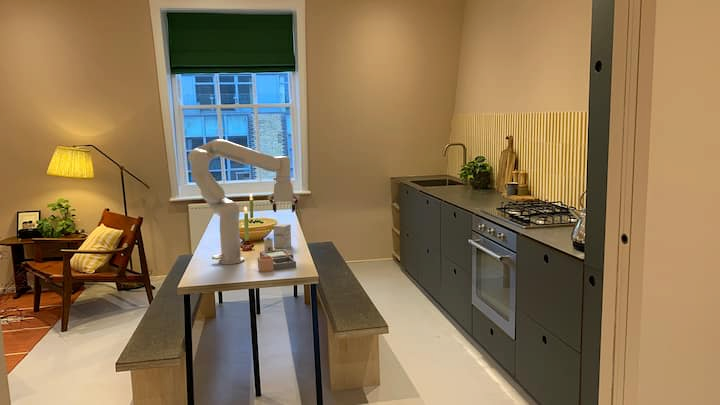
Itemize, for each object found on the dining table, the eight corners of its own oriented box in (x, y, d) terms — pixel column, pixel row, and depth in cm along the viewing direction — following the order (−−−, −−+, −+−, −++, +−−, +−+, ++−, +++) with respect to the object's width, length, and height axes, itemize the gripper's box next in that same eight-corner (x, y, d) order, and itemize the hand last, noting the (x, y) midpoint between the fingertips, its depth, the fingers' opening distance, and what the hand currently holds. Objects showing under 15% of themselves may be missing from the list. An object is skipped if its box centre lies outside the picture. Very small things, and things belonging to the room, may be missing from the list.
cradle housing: (266, 263, 270) (266, 257, 269) (260, 257, 283) (259, 251, 282) (293, 260, 275) (293, 254, 275) (285, 254, 288) (285, 248, 288)
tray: (274, 270, 258) (274, 264, 258) (269, 264, 268) (269, 259, 267) (296, 267, 262) (295, 261, 262) (289, 262, 272) (289, 256, 271)
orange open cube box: (261, 272, 255) (260, 260, 254) (257, 269, 260) (257, 257, 259) (274, 270, 257) (273, 258, 256) (270, 267, 263) (270, 255, 262)
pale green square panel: (270, 259, 273) (270, 257, 273) (265, 255, 281) (265, 253, 281) (287, 256, 276) (287, 254, 276) (282, 252, 285) (282, 251, 284)
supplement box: (273, 247, 303) (272, 225, 301) (280, 244, 309) (279, 223, 307) (285, 248, 300) (284, 226, 298) (291, 245, 307) (290, 223, 305)
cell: (265, 255, 287) (265, 239, 285) (263, 253, 291) (263, 237, 289) (274, 254, 288) (273, 238, 287) (271, 252, 292) (271, 236, 291)
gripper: (265, 180, 281) (266, 212, 284) (298, 180, 281) (299, 213, 283) (268, 179, 289) (269, 210, 291) (300, 179, 288) (301, 210, 291)
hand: (284, 211), depth 287 cm, fingers open, 9 cm apart
